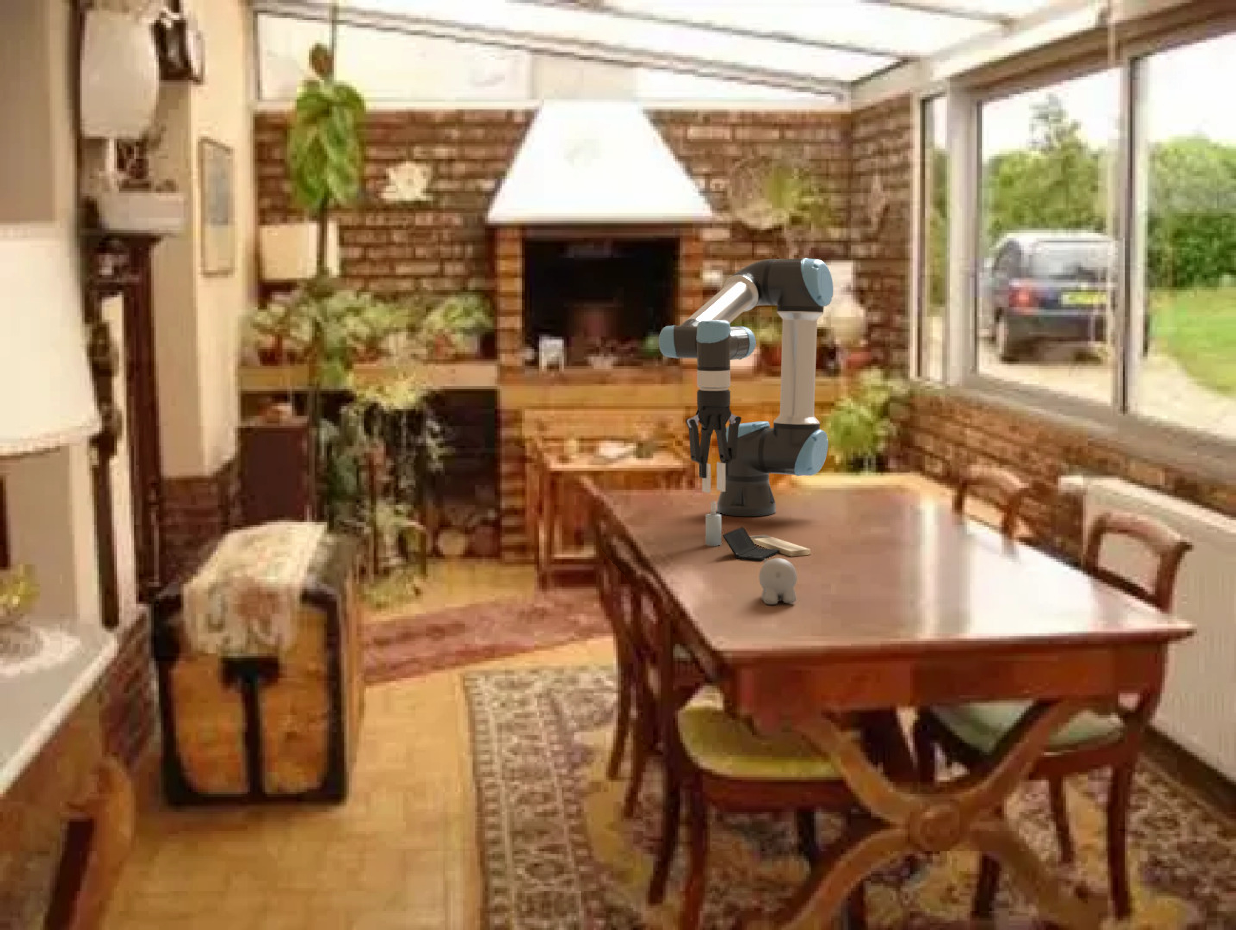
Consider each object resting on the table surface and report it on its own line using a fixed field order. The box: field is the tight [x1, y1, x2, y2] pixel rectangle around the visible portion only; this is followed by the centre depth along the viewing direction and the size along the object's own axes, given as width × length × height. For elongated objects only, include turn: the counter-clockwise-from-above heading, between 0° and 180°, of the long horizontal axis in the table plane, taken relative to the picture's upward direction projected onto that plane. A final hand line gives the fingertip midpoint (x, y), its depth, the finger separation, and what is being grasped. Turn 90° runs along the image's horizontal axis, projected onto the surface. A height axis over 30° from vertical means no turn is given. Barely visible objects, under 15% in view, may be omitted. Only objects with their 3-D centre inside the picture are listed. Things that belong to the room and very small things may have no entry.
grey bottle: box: [705, 501, 722, 547], centre depth 352 cm, size 4×4×10 cm
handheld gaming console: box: [722, 526, 780, 563], centre depth 340 cm, size 12×7×10 cm
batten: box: [749, 534, 811, 558], centre depth 348 cm, size 5×20×1 cm, turn 25°
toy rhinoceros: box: [758, 557, 798, 606], centre depth 296 cm, size 7×12×8 cm, turn 3°
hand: (713, 491), depth 351 cm, fingers open, 3 cm apart
